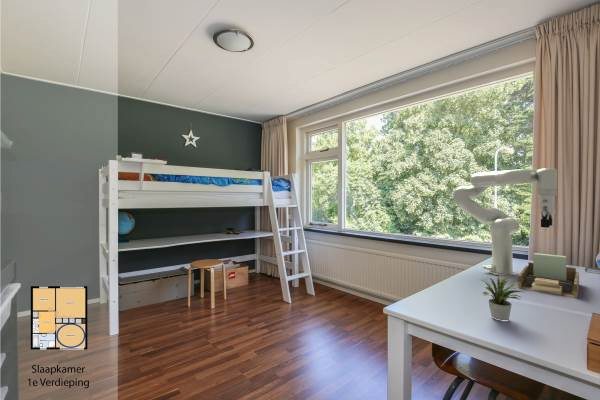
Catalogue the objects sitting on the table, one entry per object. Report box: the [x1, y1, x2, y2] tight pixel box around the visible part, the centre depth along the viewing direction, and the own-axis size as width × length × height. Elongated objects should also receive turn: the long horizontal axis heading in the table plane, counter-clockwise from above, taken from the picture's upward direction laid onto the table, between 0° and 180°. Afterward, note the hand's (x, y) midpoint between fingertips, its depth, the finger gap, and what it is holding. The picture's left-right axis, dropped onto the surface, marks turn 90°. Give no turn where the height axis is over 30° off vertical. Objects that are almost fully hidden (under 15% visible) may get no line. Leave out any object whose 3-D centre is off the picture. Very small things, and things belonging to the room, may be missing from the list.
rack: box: [517, 261, 580, 299], centre depth 134 cm, size 25×20×9 cm
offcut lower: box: [532, 282, 562, 296], centre depth 127 cm, size 6×10×2 cm, turn 44°
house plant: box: [481, 275, 523, 321], centre depth 102 cm, size 14×14×16 cm
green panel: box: [532, 252, 567, 280], centre depth 138 cm, size 3×12×14 cm, turn 44°
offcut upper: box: [535, 278, 559, 289], centre depth 127 cm, size 4×8×2 cm, turn 44°
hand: (546, 226), depth 141 cm, fingers open, 9 cm apart
